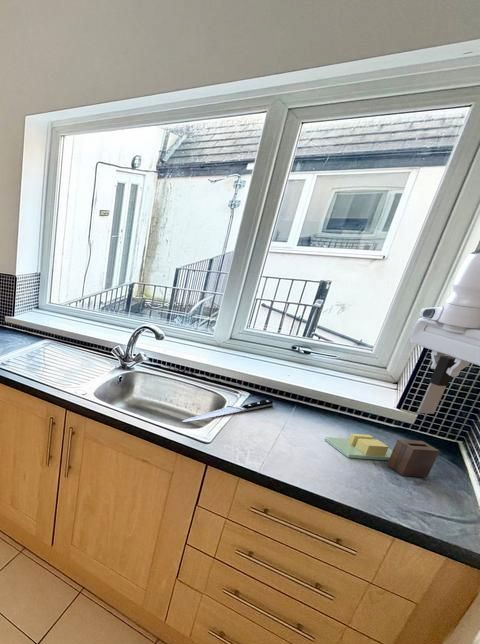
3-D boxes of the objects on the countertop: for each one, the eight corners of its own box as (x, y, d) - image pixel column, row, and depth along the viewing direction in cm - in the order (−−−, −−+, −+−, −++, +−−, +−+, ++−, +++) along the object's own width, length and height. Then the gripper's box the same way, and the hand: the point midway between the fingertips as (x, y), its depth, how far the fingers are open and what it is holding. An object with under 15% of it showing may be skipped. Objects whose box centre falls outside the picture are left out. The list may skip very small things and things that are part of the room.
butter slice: (366, 443, 123) (369, 434, 122) (370, 446, 122) (373, 437, 120) (347, 442, 123) (351, 433, 122) (351, 445, 122) (355, 436, 121)
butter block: (373, 448, 120) (377, 439, 119) (385, 456, 117) (388, 446, 116) (354, 447, 121) (358, 438, 120) (365, 454, 117) (369, 445, 116)
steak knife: (168, 420, 139) (169, 413, 139) (259, 402, 151) (261, 396, 151) (181, 426, 135) (182, 420, 134) (274, 407, 146) (275, 401, 146)
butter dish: (374, 443, 125) (375, 440, 125) (402, 461, 116) (404, 458, 116) (324, 439, 127) (325, 436, 126) (348, 457, 118) (349, 454, 117)
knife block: (410, 466, 114) (422, 440, 111) (427, 477, 109) (439, 450, 106) (386, 464, 114) (397, 439, 112) (402, 475, 110) (413, 449, 107)
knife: (428, 411, 108) (453, 356, 103) (437, 415, 106) (462, 359, 100) (413, 410, 108) (437, 355, 103) (422, 414, 106) (446, 358, 101)
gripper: (533, 329, 88) (503, 389, 93) (442, 308, 107) (421, 359, 112) (499, 328, 89) (471, 388, 94) (415, 307, 108) (395, 358, 113)
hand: (443, 372), depth 103 cm, fingers closed on knife, 2 cm apart
